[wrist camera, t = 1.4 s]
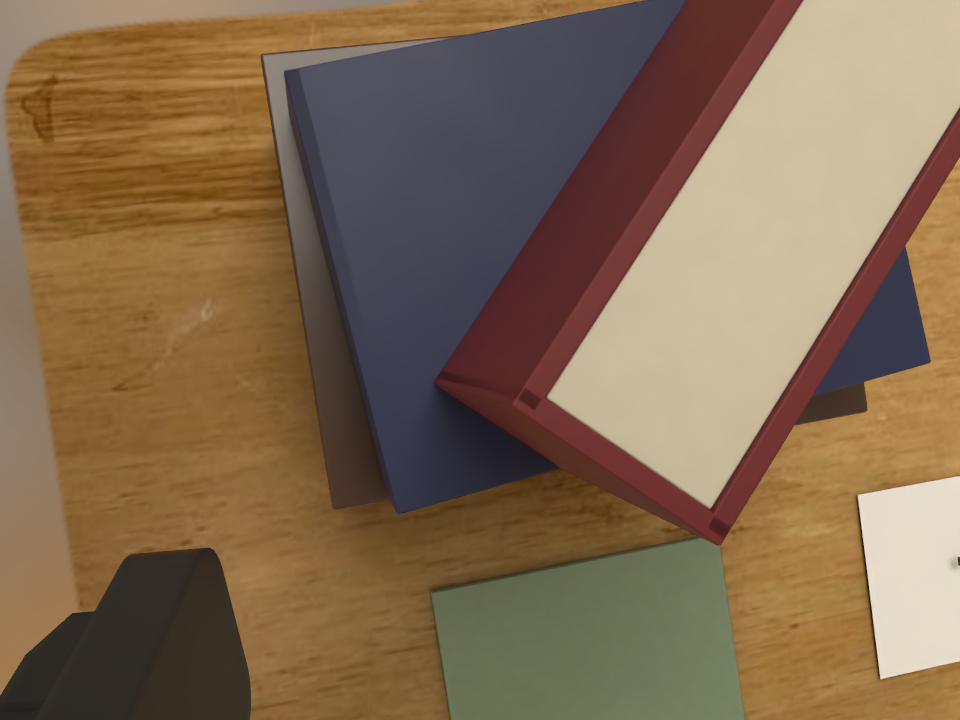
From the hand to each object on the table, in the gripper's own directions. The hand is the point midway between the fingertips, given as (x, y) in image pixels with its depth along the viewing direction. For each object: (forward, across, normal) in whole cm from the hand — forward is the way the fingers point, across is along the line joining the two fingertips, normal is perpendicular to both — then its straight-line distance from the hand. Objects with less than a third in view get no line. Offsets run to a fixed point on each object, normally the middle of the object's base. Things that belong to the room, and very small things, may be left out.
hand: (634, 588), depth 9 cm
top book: (+15, -2, +1) cm, 16 cm away
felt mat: (+20, -2, +23) cm, 31 cm away
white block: (+25, -18, +21) cm, 37 cm away
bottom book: (+19, -2, +3) cm, 19 cm away
